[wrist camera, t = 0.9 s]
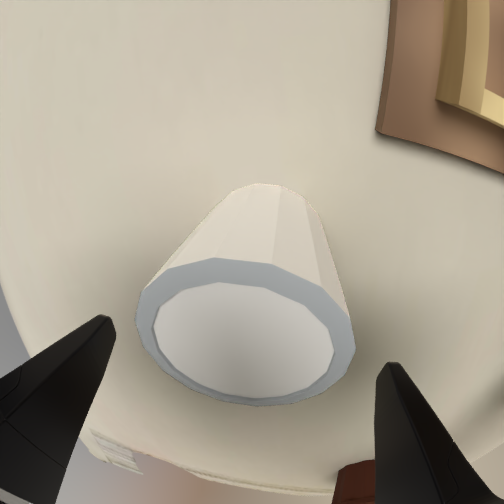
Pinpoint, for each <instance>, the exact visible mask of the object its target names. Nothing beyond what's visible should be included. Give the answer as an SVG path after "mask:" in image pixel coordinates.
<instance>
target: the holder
mask: <svg viewBox="0 0 504 504" xmlns="http://www.w3.org/2000/svg"><path fill="white" fill-rule="evenodd" d="M375 129H376V130H377V131H378V132H380V133H382V134H386V135H390V136H394V137H397V138H401V139H405V140H409V141H412V142H416V143H419V144H423V145H426V146H429V147H432V148H436V149H439V150H442V151H445V152H448V153H451V154H454V155H457V156H460V157H462V158H465V159H468V160H471V161H473V162H476V163H479V164H481V165H484V166H486V167H489V168H491V169H494V170H496V171H499V172H501V173H503V174H504V0H391V4H390V19H389V32H388V42H387V52H386V61H385V69H384V77H383V84H382V91H381V97H380V104H379V110H378V116H377V122H376V127H375Z"/></svg>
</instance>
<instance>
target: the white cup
mask: <svg viewBox="0 0 504 504" xmlns="http://www.w3.org/2000/svg"><path fill="white" fill-rule="evenodd" d="M135 323H136V326H137V329H138V332H139V335H140V338H141V341H142V344H143V347H144V348H145V350H146V351H147V352H148V353H149V354H150V356H151V357H152V358H153V359H154V360H155V362H156V363H157V364H158V365H159V366H160V367H161V369H162V370H163V371H165V372H166V373H167V374H169V375H170V376H172V377H173V378H175V379H176V380H178V381H179V382H181V383H182V384H184V385H185V386H187V387H188V388H190V389H192V390H194V391H197V392H199V393H202V394H205V395H207V396H210V397H213V398H215V399H218V400H221V401H224V402H230V403H237V404H244V405H251V406H271V405H284V404H292V403H295V402H298V401H301V400H304V399H307V398H310V397H313V396H316V395H318V394H321V393H322V392H324V391H325V390H326V389H328V388H329V387H330V386H332V385H333V384H334V383H335V382H337V381H338V380H339V379H340V378H342V377H343V376H344V375H345V373H346V371H347V369H348V367H349V364H350V362H351V360H352V358H353V355H354V353H355V351H356V346H355V340H354V335H353V330H352V325H351V319H350V316H349V312H348V308H347V305H346V301H345V298H344V294H343V291H342V287H341V284H340V280H339V277H338V274H337V271H336V267H335V264H334V261H333V258H332V254H331V251H330V248H329V245H328V242H327V239H326V236H325V233H324V230H323V227H322V224H321V221H320V218H319V215H318V214H317V212H316V211H315V210H314V209H313V208H312V206H311V205H310V204H309V203H308V202H307V201H306V199H305V198H304V197H303V196H301V195H299V194H297V193H295V192H293V191H291V190H289V189H287V188H285V187H283V186H280V185H269V184H258V183H256V184H252V185H249V186H246V187H243V188H239V189H236V190H233V191H232V192H231V193H230V194H228V195H227V196H226V197H225V198H224V199H223V200H222V201H220V202H219V203H218V204H217V205H216V206H215V207H214V208H213V209H212V210H211V212H210V213H209V214H208V215H207V216H206V217H205V218H204V219H203V220H202V222H201V223H200V224H199V225H198V226H197V227H196V228H195V229H194V231H193V232H192V233H191V234H190V235H189V236H188V237H187V239H186V240H185V241H184V242H183V243H182V244H181V245H180V247H179V248H178V249H177V250H176V251H175V252H174V253H173V255H172V256H171V257H170V258H169V259H168V261H167V262H166V263H165V264H164V265H163V266H162V268H161V269H160V270H159V271H158V272H157V274H156V275H155V276H154V277H153V278H152V280H151V281H150V282H149V283H148V284H147V286H146V287H145V288H144V289H143V290H142V292H141V295H140V299H139V303H138V307H137V311H136V316H135Z"/></svg>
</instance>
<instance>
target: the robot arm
mask: <svg viewBox="0 0 504 504" xmlns="http://www.w3.org/2000/svg"><path fill="white" fill-rule="evenodd" d="M115 341H116V331H115V328H114V325H113V322H112V319H111V318H110V317H109V316H105V315H98V316H96V317H94V318H93V319H91V320H90V321H88V322H86V323H85V324H83V325H82V326H80V327H79V328H77V329H75V330H74V331H72V332H71V333H69V334H68V335H66V336H65V337H63V338H62V339H60V340H58V341H57V342H55V343H54V344H52V345H51V346H49V347H48V348H46V349H45V350H43V351H42V352H40V353H39V354H37V355H36V356H34V357H33V358H31V359H30V360H28V361H27V362H25V363H24V364H23V365H20V366H19V367H18V368H16V369H14V370H13V371H11V372H10V373H8V374H7V375H5V376H4V377H2V378H0V504H28V503H29V502H30V503H33V504H55V503H56V499H57V496H58V493H59V490H60V487H61V484H62V481H63V478H64V475H65V472H66V468H67V466H68V463H69V460H70V457H71V455H72V452H73V449H74V447H75V444H76V441H77V439H78V436H79V434H80V431H81V429H82V426H83V424H84V421H85V419H86V416H87V414H88V411H89V409H90V407H91V404H92V402H93V399H94V397H95V395H96V392H97V390H98V388H99V386H100V383H101V381H102V379H103V376H104V373H105V371H106V367H107V364H108V361H109V358H110V355H111V352H112V349H113V346H114V343H115ZM374 435H375V504H504V500H503V499H501V498H499V497H497V496H496V495H495V494H494V493H492V491H491V490H490V489H489V488H488V487H487V485H486V484H485V483H484V482H483V481H482V479H481V478H480V477H479V475H478V474H477V473H476V472H475V470H474V469H473V468H472V466H471V465H470V464H469V462H468V461H467V460H466V458H465V457H464V455H463V454H462V452H461V451H460V450H459V448H458V446H457V445H456V443H455V442H453V439H452V437H451V436H450V434H449V433H448V431H447V430H446V428H445V427H444V425H443V424H442V422H441V421H440V420H439V418H438V417H437V415H436V414H435V412H434V411H433V409H432V408H431V406H430V405H429V404H428V402H427V401H426V399H425V398H424V396H423V395H422V394H421V392H420V391H419V389H418V388H417V386H416V385H415V384H414V382H413V381H412V380H411V378H410V377H409V375H408V374H407V373H406V371H405V370H404V368H403V367H402V366H401V364H399V363H398V362H387V363H386V364H385V366H384V367H383V369H382V370H381V372H380V373H379V375H378V377H377V380H376V397H375V415H374Z"/></svg>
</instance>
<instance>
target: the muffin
mask: <svg viewBox="0 0 504 504" xmlns="http://www.w3.org/2000/svg"><path fill="white" fill-rule="evenodd" d="M332 504H375V460H365V461H362V462H358V463H355V464H350V465H347V466H345V467H344V468H343V469H341V470H339V473H338V478H337V482H336V487H335V491H334V496H333V500H332Z"/></svg>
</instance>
